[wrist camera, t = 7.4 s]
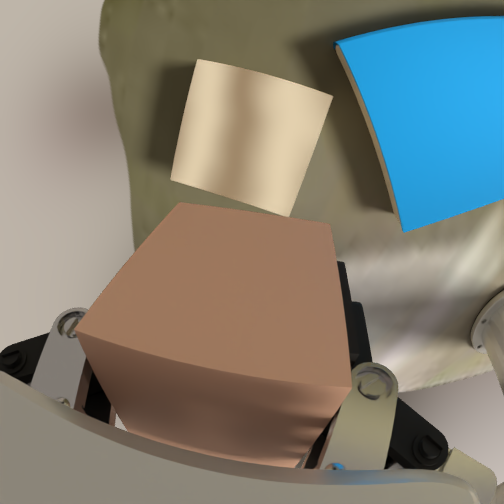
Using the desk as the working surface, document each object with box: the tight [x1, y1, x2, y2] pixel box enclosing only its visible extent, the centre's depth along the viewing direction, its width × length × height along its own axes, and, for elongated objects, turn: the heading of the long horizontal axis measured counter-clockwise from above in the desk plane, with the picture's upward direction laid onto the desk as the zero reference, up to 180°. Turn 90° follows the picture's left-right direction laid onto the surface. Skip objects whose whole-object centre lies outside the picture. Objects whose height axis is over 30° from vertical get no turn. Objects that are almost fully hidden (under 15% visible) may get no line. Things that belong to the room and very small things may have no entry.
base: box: [170, 59, 333, 217], centre depth 23 cm, size 10×10×5 cm
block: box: [74, 202, 352, 468], centre depth 8 cm, size 5×5×6 cm
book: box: [333, 16, 504, 232], centre depth 17 cm, size 17×4×25 cm
